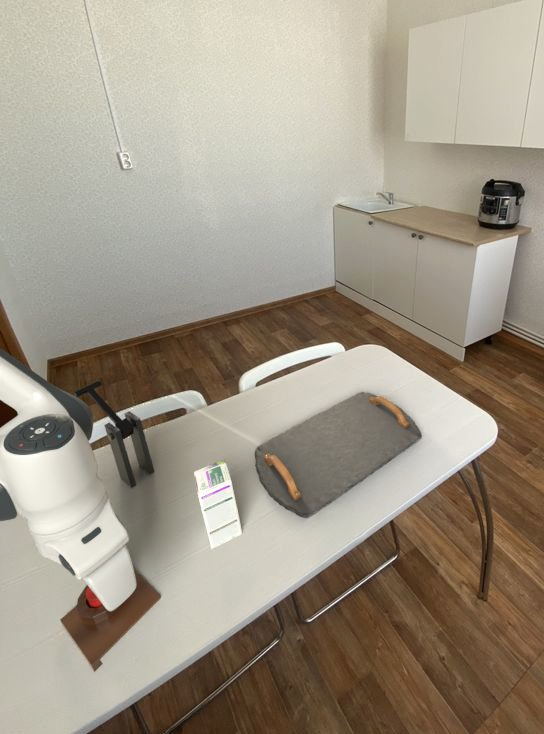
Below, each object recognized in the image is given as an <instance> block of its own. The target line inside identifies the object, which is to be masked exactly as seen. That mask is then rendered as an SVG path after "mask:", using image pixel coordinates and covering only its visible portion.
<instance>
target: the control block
mask: <svg viewBox="0 0 544 734" xmlns="http://www.w3.org/2000/svg"><path fill="white" fill-rule="evenodd" d="M134 573H135V578H136V589H135V590H134V592H133V593H132V594H131V595H130V596H129V597H128V598H127V599H126V600H125V601H124V602H123V603H122V604H121V605H120V606H119V607H117V608H116V609H115V610H113V611H108V610H107V609H106V608H105V607H104V606H103V605H102V606H99V607H92V606H90V605H89V602H88V600H87V597H86V591H87V589H88V587H89V586H88V585H87V584H86V585H85V587H84V588H83V590H82V591H81V593H80V594H79V596H78V598H77V602H76V605H75V606H74V607H73V608H72V609H71V610H69V611H68V612H67V613H66V614H65V615H63V617H61V618H60V619H59V621H60V623H61V626H62V627H63V629H64V630H65V631H66V633H67V635H68V637H70V639H71V641H72V643H74V645H75V646H76V648H77V649H78V651H79V652H80V654H81V655H82V657H83V658H84V659H85V661H86V663H88V665H89V667H90V668H91V669H92V671H93V672H94V673H95V672H96V671H97V670H98V669H99V668H101V666H103V661H102V660H101V659H103V657H105V655H107V654H108V653H109V651H111V649H112V648H113V647H114V646H116V644H117V643H118V642H119V641H120V640H121V639H122V638H123V637H125V635H126V634H127V633H128V632H129V631H130V630H131V629H133V627H134V626H136V624H137V623H138V622H139V621H140V620H141V619H142V618H143V617H144V616H145V615H146V614H147V613H148V611H150V610H151V609H152V608H153V607H154V606H155V605H156V604H157V603H158V602H159V601H160V600H161V596H160V595H159V593H157V592H156V590H155V589H153V588H152V586H151V585H150V584H149V583H148V582H147V581H146V579H144V578H143V577H142V576H141V574H139V573H138V572H137V571H136V570H135V569H134Z"/></svg>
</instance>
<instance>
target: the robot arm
mask: <svg viewBox="0 0 544 734" xmlns="http://www.w3.org/2000/svg"><path fill="white" fill-rule="evenodd" d="M0 401H1V402H2V403H4V404H6V405H7V406H9V407H11V409H14V410H15V411H16V412H17V415H16V416H15V417H14V418H12V419H11V420H9V421H8V422H6V423H5V424H4V425H2V426H1V427H0V522H4V521H11V520H15V519H16V518H17V517H23V518H24V519H26V521H27V529H28V530H29V533H30V535H31V537H32V540H33V541H34V544H35V546H36V548H37V551H38V553H39V554H40V556H42V557H43V558H46V559H49V560H52V561H53V562H55V563H57V564H59V565H61V566H62V567H63V568H64V569H66V570H67V572H69V573H70V574H71V575H72V576H73V577H75V579H76V580H78V581H83V582H84V583H85V584H86V585H88V586H89V588H90V589H91V590H92V591H93V593H94V594H95V595H96V596H97V598H98V599H99V600H100V602H101V603H102V604H103V606H104V607H105V608H106V609H107V610H108V611H113V610H115V609H116V608H117V607H119V606H120V605H121V604H122V603H123V602H124V601H125V600H126V599H127V598H128V597H129V596H130V595H131V594H132V593H133V592H134V590H135V589H136V578H135V573H134V570H135V568H134V565H133V561H132V560H133V559H132V558H131V554H130V551H129V549H128V547H127V545H126V544H127V543H128V542H129V541H130V536H129V533H128V531H127V528H125V526H124V524H123V523H122V521H121V520H120V518H119V516H118V515H117V514H116V513H115V510H114V506H113V503H112V501H111V499H110V498H109V497H110V496H109V495H108V492H107V491H108V490H107V489H106V485H105V483H104V482H103V480H102V478H101V477H99V475H98V468H99V467H98V462H97V458H96V455H95V452H94V451H93V448H92V446H91V442H90V440H91V438H92V435H93V431H94V430H93V429H94V415H93V412H92V409H91V408H90V407H89V405H88V404H87V403H86V402H85V401H83V400H82V399H80V397H78V398H77V397H75V395H74V394H72V393H69V392H68V391H65V390H63V389H61V388H59V387H57V386H55V385H54V384H52V383H50V382H49V381H47V380H46V379H45V378H44V377H42V376H40V375H39V374H38V373H37V372H35V371H33V370H32V369H31V368H29V367H28V366H26V365H25V364H24V363H22V362H21V361H19V360H18V359H17V358H15V357H14V356H12V355H11V354H10V353H8V352H7V351H5V350H4V349H2V348H1V347H0Z"/></svg>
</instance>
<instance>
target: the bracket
mask: <svg viewBox="0 0 544 734" xmlns="http://www.w3.org/2000/svg"><path fill="white" fill-rule="evenodd" d="M124 417H125V418H126V419H127V420H128V421H129V422H130V423H131V424H132V425H133V428H134V433H133V434H132V435H130V438H131V442H132V445H133V449H134V452H135V456H136V460H137V463H138V466H139V467H140V469H142V470H143V471H144V472H146V473H147V474H148V475H149V476H151V475H153V474H154V473H155V469H154V465H153V460H152V457H151V454H150V453H151V452H150V450H149V446H148V442H147V439H146V435H145V431H144V428H143V427H144V426H143V424H142V420H141V417H139V416H137V415H136V414H134V413H133V412H131V411H130V410H128V411H126V412H125V413H124ZM103 427H104V428H105V429H104V430H105V432H106V435H107V439H108V442H109V445H110V448H111V452H112V454H113V459H114V461H115V464H116V468H117V471H118V474H119V477H120V480H121V481H122V482H124V484H126V485H127V486H128V487H129V488H131V489H133V488H135V486H137V482H136V479H135V476H134V472H133V469H132V466H131V462H130V459H129V456H128V452H127V448H126V445H125V441H124V439H123V438H122V434H121V431H120V430H119V429H118V428H116V427H115V424H113V423H111V422H108V423H105V424H104V426H103Z"/></svg>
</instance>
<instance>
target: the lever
mask: <svg viewBox="0 0 544 734" xmlns="http://www.w3.org/2000/svg"><path fill="white" fill-rule="evenodd" d="M101 387H103V383H102V381H101V380H100V379H98V380H95V381H93V382H91V383H88V385H85V386H83V387H81V388H78V389H77V390H74V391H73V396H75V397H77V398H80V397H81V396H84V395H86V394H87V395H88V396H89V398H91V399H92V400H93V402H95V404H96V405H97V406H98V407H99V409H101V410H102V412H103V413H104V414H105V415H106V416H107V417H108V418H109V420H111V422H112V423H113V425H114V426H115V427H116V428H118V429H119V430H120V431H121V434H122V438H123V440H125V439H127V438H128V437H131V435H132V434H133V433H134V428H133V425H132V424H131V423H130V422H129V421H128V420H127V419H126V417H125V418H123V419H122V418H120V416H119V415H118V413H116V411H114V409H112V407H110V405H109V404H108V403H107V402H106V401H105V400H104V399H103V398H102V397H101V396H100V394H99V393H98V392H97V391H96V389H98V388H101Z"/></svg>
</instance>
